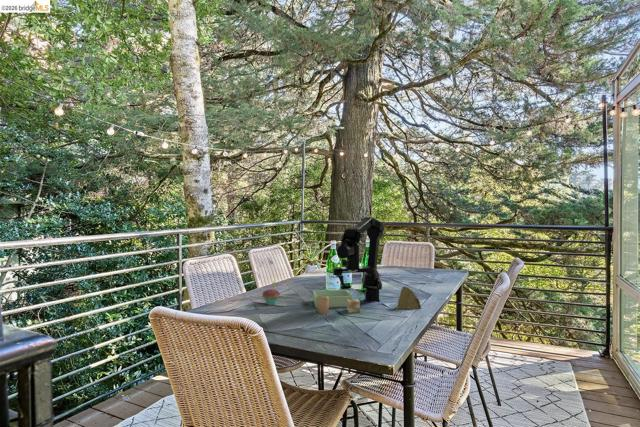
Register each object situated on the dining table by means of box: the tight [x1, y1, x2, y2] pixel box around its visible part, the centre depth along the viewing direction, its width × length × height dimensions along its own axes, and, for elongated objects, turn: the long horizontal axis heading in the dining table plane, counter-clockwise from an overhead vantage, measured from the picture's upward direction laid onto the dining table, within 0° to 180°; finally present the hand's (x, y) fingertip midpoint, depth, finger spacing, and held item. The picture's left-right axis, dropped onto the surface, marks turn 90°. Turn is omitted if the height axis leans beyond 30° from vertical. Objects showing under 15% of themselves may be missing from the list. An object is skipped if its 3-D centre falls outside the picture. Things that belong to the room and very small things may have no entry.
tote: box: [312, 289, 353, 309], centre depth 200 cm, size 18×14×5 cm
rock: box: [396, 286, 422, 310], centre depth 191 cm, size 11×9×10 cm
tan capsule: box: [317, 296, 330, 315], centre depth 186 cm, size 5×5×7 cm
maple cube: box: [346, 298, 361, 314], centre depth 187 cm, size 5×5×5 cm
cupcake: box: [261, 280, 281, 306], centre depth 201 cm, size 9×8×12 cm
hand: (353, 289), depth 187 cm, fingers open, 9 cm apart
